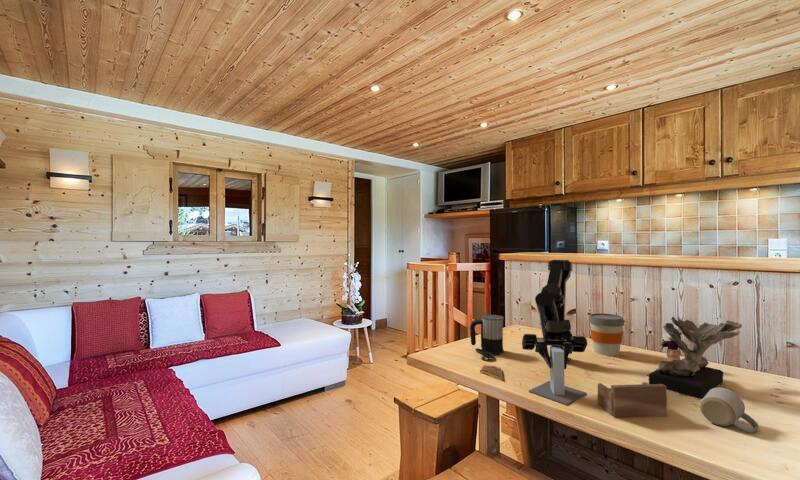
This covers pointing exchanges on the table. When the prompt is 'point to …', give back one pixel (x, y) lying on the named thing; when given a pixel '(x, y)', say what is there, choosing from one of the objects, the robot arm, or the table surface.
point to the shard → (492, 372)
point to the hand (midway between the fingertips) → (558, 368)
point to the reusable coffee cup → (606, 333)
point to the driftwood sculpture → (693, 358)
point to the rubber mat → (565, 399)
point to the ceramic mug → (726, 409)
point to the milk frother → (489, 335)
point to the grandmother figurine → (671, 349)
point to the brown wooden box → (634, 400)
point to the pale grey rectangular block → (557, 370)
